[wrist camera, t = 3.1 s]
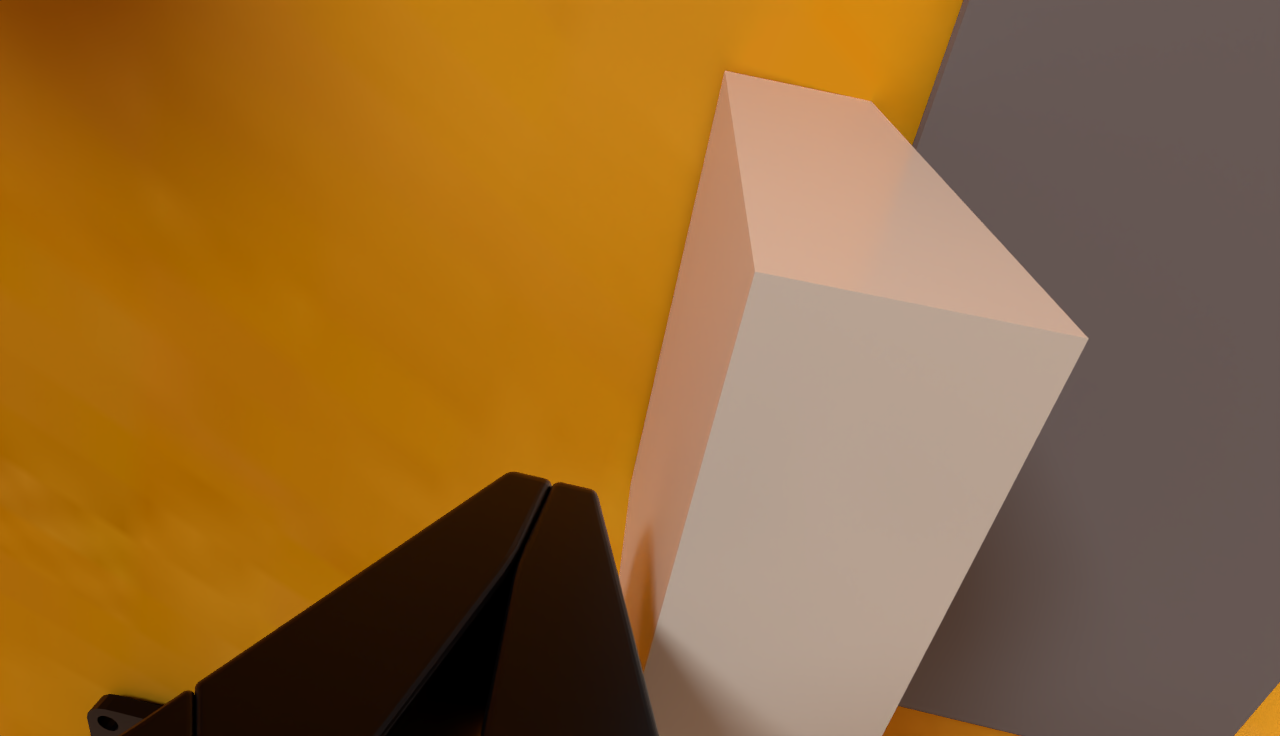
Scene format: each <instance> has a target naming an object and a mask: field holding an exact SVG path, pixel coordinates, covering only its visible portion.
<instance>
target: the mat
mask: <svg viewBox="0 0 1280 736" xmlns="http://www.w3.org/2000/svg"><path fill="white" fill-rule="evenodd" d="M913 148H914V149H915V150H916V151H917V152H918V153H919V154H920V155H921V156H922V157H923V158H924V160H925V161H926V162H927V163H928V164H929V165H930V166H931V167H932V168H933V169H934V170H935V172H936V173H937V174H938V175H939V176H940V177H941V178H942V179H943V180H944V181H945V182H946V184H947V185H948V186H949V187H950V188H951V189H952V190H953V191H954V192H955V193H956V194H957V196H958V197H959V198H960V199H961V200H962V201H963V202H964V203H965V204H966V205H967V206H968V208H969V209H970V210H971V211H972V212H973V213H974V214H975V215H976V216H977V217H978V218H979V220H980V221H981V222H982V223H983V224H984V225H985V226H986V227H987V228H988V229H989V230H990V232H991V233H992V234H993V235H994V236H995V237H996V238H997V239H998V240H999V241H1000V242H1001V244H1002V245H1003V246H1004V247H1005V248H1006V249H1007V250H1008V251H1009V252H1010V253H1011V254H1012V256H1013V257H1014V258H1015V259H1016V260H1017V261H1018V262H1019V263H1020V264H1021V265H1022V266H1023V268H1024V269H1025V270H1026V271H1027V272H1028V273H1029V274H1030V275H1031V276H1032V277H1033V278H1034V280H1035V281H1036V282H1037V283H1038V284H1039V285H1040V286H1041V287H1042V288H1043V289H1044V290H1045V292H1046V293H1047V294H1048V295H1049V296H1050V297H1051V298H1052V299H1053V300H1054V301H1055V302H1056V304H1057V305H1058V306H1059V307H1060V308H1061V309H1062V310H1063V311H1064V312H1065V313H1066V314H1067V316H1068V317H1069V318H1070V319H1071V320H1072V321H1073V322H1074V323H1075V324H1076V325H1077V326H1078V328H1079V329H1080V330H1081V331H1082V332H1083V333H1084V334H1085V335H1086V336H1087V337H1088V338H1089V339H1088V341H1087V343H1086V345H1085V347H1084V349H1083V351H1082V352H1081V354H1080V356H1079V358H1078V360H1077V362H1076V364H1075V366H1074V368H1073V370H1072V372H1071V374H1070V376H1069V377H1068V379H1067V381H1066V383H1065V385H1064V387H1063V389H1062V391H1061V393H1060V395H1059V397H1058V399H1057V401H1056V402H1055V404H1054V406H1053V408H1052V410H1051V412H1050V414H1049V416H1048V418H1047V420H1046V422H1045V424H1044V426H1043V427H1042V429H1041V431H1040V433H1039V435H1038V437H1037V439H1036V441H1035V443H1034V445H1033V447H1032V449H1031V451H1030V452H1029V454H1028V456H1027V458H1026V460H1025V462H1024V464H1023V466H1022V468H1021V470H1020V472H1019V474H1018V475H1017V477H1016V479H1015V481H1014V483H1013V485H1012V487H1011V489H1010V491H1009V493H1008V495H1007V497H1006V499H1005V500H1004V502H1003V504H1002V506H1001V508H1000V510H999V512H998V514H997V516H996V518H995V520H994V522H993V524H992V525H991V527H990V529H989V531H988V533H987V535H986V537H985V539H984V541H983V543H982V545H981V547H980V549H979V550H978V552H977V554H976V556H975V558H974V560H973V562H972V564H971V566H970V568H969V570H968V572H967V574H966V575H965V577H964V579H963V581H962V583H961V585H960V587H959V589H958V591H957V593H956V595H955V597H954V599H953V600H952V602H951V604H950V606H949V608H948V610H947V612H946V614H945V616H944V618H943V620H942V622H941V624H940V625H939V627H938V629H937V631H936V633H935V635H934V637H933V639H932V641H931V643H930V645H929V647H928V649H927V650H926V652H925V654H924V656H923V658H922V660H921V662H920V664H919V666H918V668H917V670H916V672H915V673H914V675H913V677H912V679H911V681H910V683H909V685H908V687H907V689H906V691H905V693H904V695H903V697H902V698H901V700H900V702H899V704H898V706H901V707H906V708H910V709H914V710H918V711H922V712H926V713H930V714H935V715H939V716H943V717H947V718H951V719H955V720H959V721H963V722H968V723H972V724H976V725H980V726H984V727H988V728H992V729H997V730H1001V731H1005V732H1009V733H1013V734H1017V735H1021V736H1234V735H1235V734H1236V733H1237V731H1238V730H1239V729H1240V728H1241V727H1242V726H1243V724H1244V723H1245V722H1246V721H1247V720H1248V719H1249V717H1250V716H1251V715H1252V714H1253V713H1254V711H1255V710H1256V709H1257V708H1258V707H1259V706H1260V704H1261V703H1262V702H1263V701H1264V700H1265V699H1266V697H1267V696H1268V695H1269V694H1270V693H1271V692H1272V690H1273V689H1274V688H1275V687H1276V686H1277V684H1278V683H1279V682H1280V0H964V1H963V3H962V6H961V9H960V12H959V15H958V18H957V20H956V23H955V26H954V29H953V32H952V35H951V37H950V40H949V43H948V46H947V49H946V52H945V55H944V57H943V60H942V63H941V66H940V69H939V72H938V74H937V77H936V80H935V83H934V86H933V89H932V91H931V94H930V97H929V100H928V103H927V106H926V109H925V111H924V114H923V117H922V120H921V123H920V126H919V128H918V131H917V134H916V137H915V140H914V143H913Z"/></svg>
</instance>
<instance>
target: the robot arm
mask: <svg viewBox="0 0 1280 736" xmlns="http://www.w3.org/2000/svg"><path fill="white" fill-rule="evenodd" d="M87 719H88V724H89V728H90V732H91V736H659V733H658V729H657V725H656V721H655V717H654V713H653V709H652V705H651V701H650V698H649V694H648V690H647V686H646V682H645V678H644V674H643V670H642V666H641V662H640V658H639V655H638V651H637V647H636V643H635V639H634V635H633V631H632V627H631V623H630V619H629V616H628V612H627V608H626V604H625V600H624V596H623V592H622V588H621V584H620V580H619V576H618V573H617V569H616V565H615V561H614V557H613V553H612V549H611V545H610V541H609V537H608V534H607V530H606V526H605V522H604V518H603V514H602V510H601V506H600V502H599V498H598V496H597V494H596V492H595V491H594V490H592V489H588V488H584V487H580V486H575V485H571V484H566V483H562V482H558V483H555V484H554V485H553V486H551V483H550V482H549V480H547V479H544V478H540V477H536V476H531V475H527V474H523V473H518V472H509V473H506V474H505V475H503V476H502V477H500V478H499V479H497V480H496V481H494V482H493V483H491V484H490V485H488V486H487V487H485V488H484V489H482V490H481V491H479V492H478V493H477V494H475V495H474V496H472V497H471V498H469V499H468V500H466V501H465V502H463V503H462V504H460V505H459V506H457V507H456V508H454V509H453V510H451V511H450V512H449V513H447V514H446V515H444V516H443V517H441V518H440V519H438V520H437V521H435V522H434V523H432V524H431V525H429V526H428V527H426V528H425V529H423V530H422V531H421V532H419V533H418V534H416V535H415V536H413V537H412V538H410V539H409V540H407V541H406V542H404V543H403V544H401V545H400V546H398V547H397V548H395V549H394V550H393V551H391V552H390V553H388V554H387V555H385V556H384V557H382V558H381V559H379V560H378V561H376V562H375V563H373V564H372V565H370V566H369V567H367V568H366V569H365V570H363V571H362V572H360V573H359V574H357V575H356V576H354V577H353V578H351V579H350V580H348V581H347V582H345V583H344V584H342V585H341V586H339V587H338V588H337V589H335V590H334V591H332V592H331V593H329V594H328V595H326V596H325V597H323V598H322V599H320V600H319V601H317V602H316V603H314V604H313V605H312V606H310V607H309V608H307V609H306V610H304V611H303V612H301V613H300V614H298V615H297V616H295V617H294V618H292V619H291V620H289V621H288V622H286V623H285V624H284V625H282V626H281V627H279V628H278V629H276V630H275V631H273V632H272V633H270V634H269V635H267V636H266V637H264V638H263V639H261V640H260V641H258V642H257V643H256V644H254V645H253V646H251V647H250V648H248V649H247V650H245V651H244V652H242V653H241V654H239V655H238V656H236V657H235V658H233V659H232V660H230V661H229V662H228V663H226V664H225V665H223V666H222V667H220V668H219V669H217V670H216V671H214V672H213V673H211V674H210V675H208V676H207V677H205V678H204V679H202V680H201V681H200V682H198V683H197V684H196V686H195V695H194V693H193V692H192V691H189V690H188V691H184V692H183V693H181V694H180V695H178V696H177V697H175V698H174V699H172V700H171V701H169V702H168V703H166V704H165V705H163V706H160V705H156V704H152V703H148V702H143V701H139V700H135V699H131V698H127V697H123V696H119V695H113V694H108V695H104V696H102V697H101V698H100V700H99V701H98V702H97V703H96V704H95V705H94V707H93V708H92V709H91V710H90V711H89V712H88V715H87Z"/></svg>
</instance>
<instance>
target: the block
mask: <svg viewBox="0 0 1280 736" xmlns="http://www.w3.org/2000/svg"><path fill="white" fill-rule="evenodd" d="M1088 339H1089V338H1088V337H1087V336H1086V335H1085V334H1084V333H1083V332H1082V331H1081V330H1080V329H1079V328H1078V326H1077V325H1076V324H1075V323H1074V322H1073V321H1072V320H1071V319H1070V318H1069V317H1068V316H1067V314H1066V313H1065V312H1064V311H1063V310H1062V309H1061V308H1060V307H1059V306H1058V305H1057V304H1056V302H1055V301H1054V300H1053V299H1052V298H1051V297H1050V296H1049V295H1048V294H1047V293H1046V292H1045V290H1044V289H1043V288H1042V287H1041V286H1040V285H1039V284H1038V283H1037V282H1036V281H1035V280H1034V278H1033V277H1032V276H1031V275H1030V274H1029V273H1028V272H1027V271H1026V270H1025V269H1024V268H1023V266H1022V265H1021V264H1020V263H1019V262H1018V261H1017V260H1016V259H1015V258H1014V257H1013V256H1012V254H1011V253H1010V252H1009V251H1008V250H1007V249H1006V248H1005V247H1004V246H1003V245H1002V244H1001V242H1000V241H999V240H998V239H997V238H996V237H995V236H994V235H993V234H992V233H991V232H990V230H989V229H988V228H987V227H986V226H985V225H984V224H983V223H982V222H981V221H980V220H979V218H978V217H977V216H976V215H975V214H974V213H973V212H972V211H971V210H970V209H969V208H968V206H967V205H966V204H965V203H964V202H963V201H962V200H961V199H960V198H959V197H958V196H957V194H956V193H955V192H954V191H953V190H952V189H951V188H950V187H949V186H948V185H947V184H946V182H945V181H944V180H943V179H942V178H941V177H940V176H939V175H938V174H937V173H936V172H935V170H934V169H933V168H932V167H931V166H930V165H929V164H928V163H927V162H926V161H925V160H924V158H923V157H922V156H921V155H920V154H919V153H918V152H917V151H916V150H915V149H914V148H913V146H912V145H911V144H910V143H909V142H908V141H907V140H906V139H905V138H904V137H903V136H902V134H901V133H900V132H899V131H898V130H897V129H896V128H895V127H894V126H893V125H892V124H891V122H890V121H889V120H888V119H887V118H886V117H885V116H884V115H883V114H882V113H881V112H880V110H879V109H878V108H877V107H876V106H875V105H874V104H873V103H872V102H871V101H867V100H862V99H858V98H853V97H848V96H843V95H839V94H834V93H829V92H824V91H819V90H815V89H810V88H805V87H800V86H796V85H791V84H786V83H781V82H776V81H772V80H767V79H762V78H757V77H753V76H748V75H743V74H738V73H733V72H729V71H725V72H724V77H723V81H722V85H721V90H720V94H719V98H718V103H717V107H716V112H715V116H714V120H713V125H712V129H711V134H710V138H709V142H708V147H707V151H706V156H705V160H704V164H703V169H702V173H701V178H700V182H699V186H698V191H697V195H696V200H695V204H694V208H693V213H692V217H691V222H690V226H689V230H688V235H687V239H686V244H685V248H684V252H683V257H682V261H681V266H680V270H679V274H678V279H677V283H676V288H675V292H674V296H673V301H672V305H671V309H670V314H669V318H668V323H667V327H666V331H665V336H664V340H663V345H662V349H661V353H660V358H659V362H658V367H657V371H656V375H655V380H654V384H653V389H652V393H651V397H650V402H649V406H648V411H647V415H646V419H645V424H644V428H643V433H642V437H641V441H640V446H639V450H638V455H637V459H636V463H635V468H634V472H633V477H632V481H631V487H630V495H629V503H628V511H627V519H626V527H625V535H624V543H623V551H622V559H621V567H620V575H619V580H620V584H621V588H622V592H623V596H624V600H625V604H626V608H627V612H628V616H629V619H630V623H631V627H632V631H633V635H634V639H635V643H636V647H637V651H638V655H639V658H640V662H641V666H642V670H643V674H644V678H645V682H646V686H647V690H648V694H649V698H650V701H651V705H652V709H653V713H654V717H655V721H656V725H657V729H658V733H659V736H882V735H883V733H884V731H885V729H886V727H887V725H888V723H889V722H890V720H891V718H892V716H893V714H894V712H895V710H896V708H897V706H898V704H899V702H900V700H901V698H902V697H903V695H904V693H905V691H906V689H907V687H908V685H909V683H910V681H911V679H912V677H913V675H914V673H915V672H916V670H917V668H918V666H919V664H920V662H921V660H922V658H923V656H924V654H925V652H926V650H927V649H928V647H929V645H930V643H931V641H932V639H933V637H934V635H935V633H936V631H937V629H938V627H939V625H940V624H941V622H942V620H943V618H944V616H945V614H946V612H947V610H948V608H949V606H950V604H951V602H952V600H953V599H954V597H955V595H956V593H957V591H958V589H959V587H960V585H961V583H962V581H963V579H964V577H965V575H966V574H967V572H968V570H969V568H970V566H971V564H972V562H973V560H974V558H975V556H976V554H977V552H978V550H979V549H980V547H981V545H982V543H983V541H984V539H985V537H986V535H987V533H988V531H989V529H990V527H991V525H992V524H993V522H994V520H995V518H996V516H997V514H998V512H999V510H1000V508H1001V506H1002V504H1003V502H1004V500H1005V499H1006V497H1007V495H1008V493H1009V491H1010V489H1011V487H1012V485H1013V483H1014V481H1015V479H1016V477H1017V475H1018V474H1019V472H1020V470H1021V468H1022V466H1023V464H1024V462H1025V460H1026V458H1027V456H1028V454H1029V452H1030V451H1031V449H1032V447H1033V445H1034V443H1035V441H1036V439H1037V437H1038V435H1039V433H1040V431H1041V429H1042V427H1043V426H1044V424H1045V422H1046V420H1047V418H1048V416H1049V414H1050V412H1051V410H1052V408H1053V406H1054V404H1055V402H1056V401H1057V399H1058V397H1059V395H1060V393H1061V391H1062V389H1063V387H1064V385H1065V383H1066V381H1067V379H1068V377H1069V376H1070V374H1071V372H1072V370H1073V368H1074V366H1075V364H1076V362H1077V360H1078V358H1079V356H1080V354H1081V352H1082V351H1083V349H1084V347H1085V345H1086V343H1087V341H1088Z"/></svg>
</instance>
